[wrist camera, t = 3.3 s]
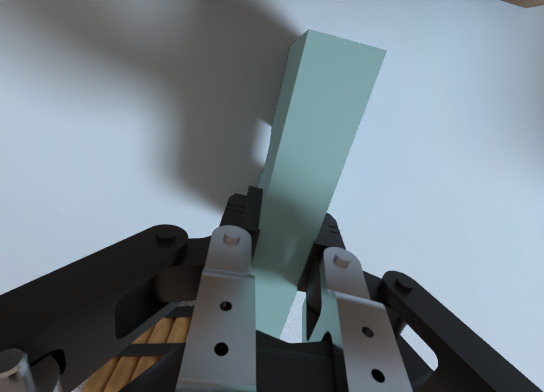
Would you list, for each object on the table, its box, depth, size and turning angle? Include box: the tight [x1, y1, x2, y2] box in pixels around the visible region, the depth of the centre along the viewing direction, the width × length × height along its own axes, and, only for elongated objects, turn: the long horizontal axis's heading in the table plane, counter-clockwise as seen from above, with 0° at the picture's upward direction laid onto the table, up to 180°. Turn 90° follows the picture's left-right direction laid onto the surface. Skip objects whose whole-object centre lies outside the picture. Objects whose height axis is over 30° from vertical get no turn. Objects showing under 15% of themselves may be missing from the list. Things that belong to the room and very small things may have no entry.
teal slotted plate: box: [251, 29, 387, 339], centre depth 15 cm, size 2×14×12 cm, turn 167°
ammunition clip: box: [82, 306, 195, 392], centre depth 23 cm, size 11×2×12 cm, turn 93°
